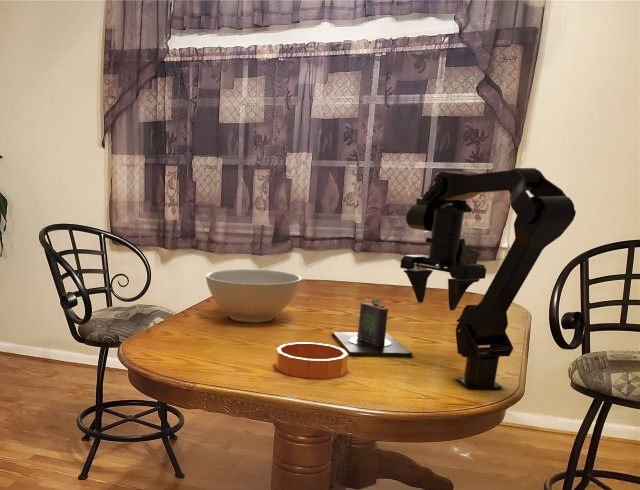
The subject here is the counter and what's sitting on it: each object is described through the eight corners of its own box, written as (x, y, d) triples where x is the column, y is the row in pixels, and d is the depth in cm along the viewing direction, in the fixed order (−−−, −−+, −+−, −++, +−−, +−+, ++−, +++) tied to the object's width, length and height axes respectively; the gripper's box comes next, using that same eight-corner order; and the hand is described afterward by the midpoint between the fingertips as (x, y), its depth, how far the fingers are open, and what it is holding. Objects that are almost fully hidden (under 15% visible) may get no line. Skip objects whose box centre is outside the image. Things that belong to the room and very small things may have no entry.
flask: (354, 337, 172) (359, 294, 168) (364, 336, 173) (369, 294, 169) (377, 346, 163) (383, 301, 160) (388, 345, 164) (393, 301, 161)
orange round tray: (352, 379, 142) (354, 360, 141) (281, 378, 143) (282, 359, 142) (337, 360, 156) (338, 343, 155) (272, 358, 157) (273, 342, 156)
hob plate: (411, 357, 158) (412, 352, 158) (349, 356, 159) (350, 351, 159) (387, 336, 177) (387, 332, 177) (332, 335, 178) (332, 331, 178)
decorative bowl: (234, 304, 217) (236, 266, 213) (314, 316, 200) (317, 275, 197) (186, 319, 197) (187, 277, 193) (270, 333, 181) (273, 287, 177)
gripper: (512, 236, 139) (499, 311, 144) (442, 228, 156) (432, 296, 161) (470, 238, 135) (458, 316, 140) (402, 230, 152) (394, 299, 157)
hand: (435, 306), depth 149 cm, fingers open, 9 cm apart
